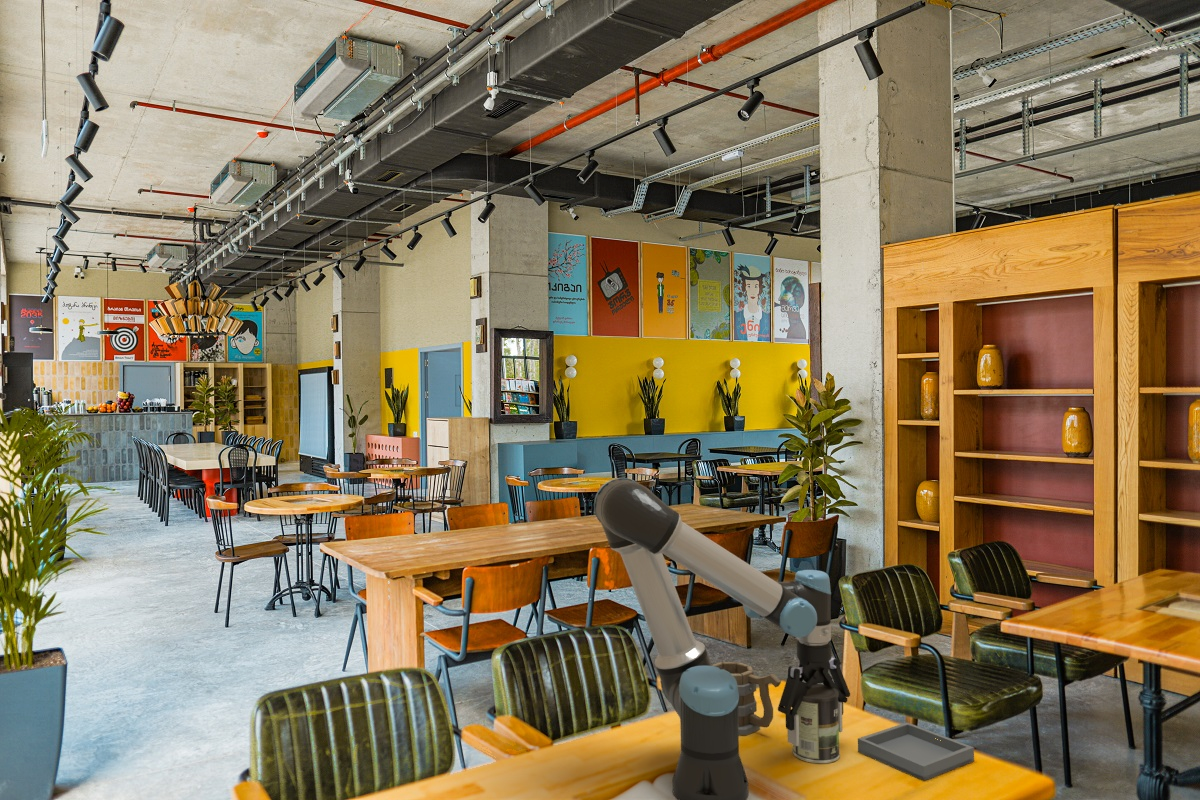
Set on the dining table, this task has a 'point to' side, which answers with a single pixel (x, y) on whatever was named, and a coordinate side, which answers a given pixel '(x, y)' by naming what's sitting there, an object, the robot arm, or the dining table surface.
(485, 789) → the dining table surface
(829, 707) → the coffee can
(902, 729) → the tray
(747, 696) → the tankard
